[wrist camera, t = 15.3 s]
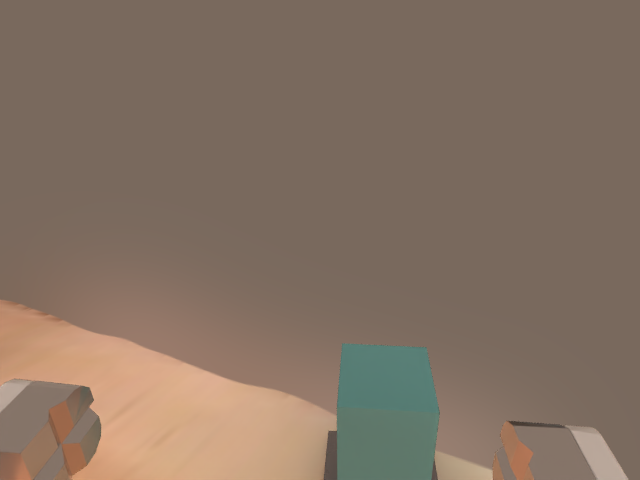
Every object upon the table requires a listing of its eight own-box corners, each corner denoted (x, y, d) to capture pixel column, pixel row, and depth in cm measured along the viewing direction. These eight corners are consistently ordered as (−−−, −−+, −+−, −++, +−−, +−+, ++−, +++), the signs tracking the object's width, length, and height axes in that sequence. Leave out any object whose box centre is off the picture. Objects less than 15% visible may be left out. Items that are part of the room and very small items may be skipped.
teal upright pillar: (337, 517, 27) (337, 406, 23) (342, 444, 32) (342, 343, 29) (425, 525, 27) (439, 413, 23) (416, 450, 32) (426, 347, 28)
